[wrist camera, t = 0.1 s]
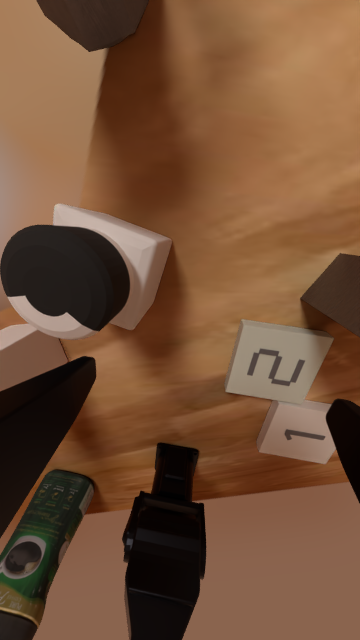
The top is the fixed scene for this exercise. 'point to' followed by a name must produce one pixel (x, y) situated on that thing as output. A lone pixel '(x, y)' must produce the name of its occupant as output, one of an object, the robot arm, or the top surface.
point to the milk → (27, 354)
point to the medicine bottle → (83, 272)
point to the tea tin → (338, 292)
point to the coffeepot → (95, 20)
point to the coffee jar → (39, 551)
